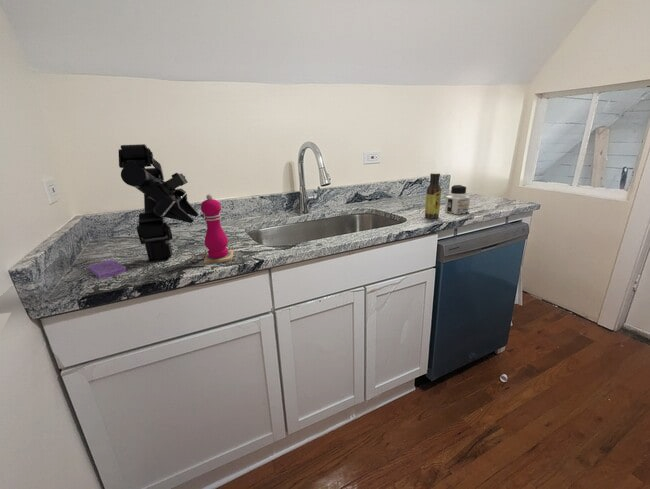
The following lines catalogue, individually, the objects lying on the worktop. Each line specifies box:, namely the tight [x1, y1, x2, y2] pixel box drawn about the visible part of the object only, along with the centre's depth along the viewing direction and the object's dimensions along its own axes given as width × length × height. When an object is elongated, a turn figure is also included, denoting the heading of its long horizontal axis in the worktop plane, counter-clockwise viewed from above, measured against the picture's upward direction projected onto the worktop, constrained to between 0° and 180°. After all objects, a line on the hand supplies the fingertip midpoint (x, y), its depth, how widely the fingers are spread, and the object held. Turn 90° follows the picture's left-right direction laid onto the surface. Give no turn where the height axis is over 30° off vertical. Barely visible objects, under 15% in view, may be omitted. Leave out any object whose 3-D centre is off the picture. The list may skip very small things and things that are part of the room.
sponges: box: [87, 258, 127, 279], centre depth 95 cm, size 7×13×2 cm, turn 49°
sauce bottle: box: [424, 172, 442, 219], centre depth 139 cm, size 6×6×20 cm
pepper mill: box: [200, 193, 229, 258], centre depth 98 cm, size 7×7×20 cm
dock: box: [203, 249, 234, 264], centre depth 101 cm, size 8×8×1 cm
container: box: [444, 184, 471, 215], centre depth 148 cm, size 8×8×13 cm
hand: (195, 218), depth 97 cm, fingers open, 9 cm apart
